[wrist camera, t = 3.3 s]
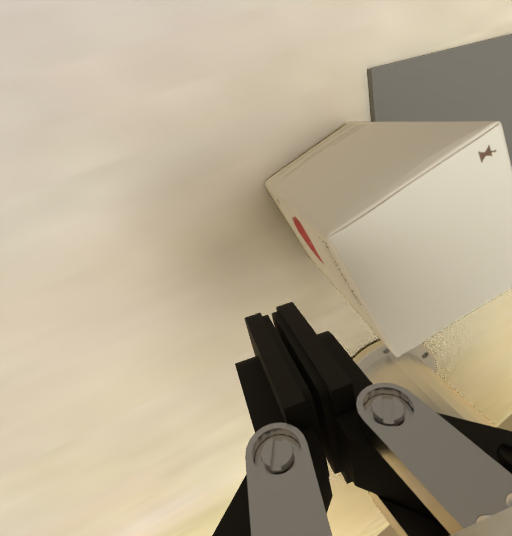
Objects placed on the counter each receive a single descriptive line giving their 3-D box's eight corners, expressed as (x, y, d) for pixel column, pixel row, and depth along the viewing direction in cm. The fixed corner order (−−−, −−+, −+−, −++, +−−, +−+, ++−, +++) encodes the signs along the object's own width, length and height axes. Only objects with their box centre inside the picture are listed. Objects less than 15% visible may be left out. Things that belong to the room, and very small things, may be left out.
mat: (537, 216, 36) (543, 217, 35) (382, 267, 34) (386, 269, 33) (562, 21, 29) (570, 19, 28) (367, 69, 26) (371, 68, 26)
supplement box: (259, 181, 28) (321, 234, 14) (350, 118, 27) (508, 110, 13) (309, 261, 31) (396, 364, 18) (390, 208, 31) (544, 273, 17)
